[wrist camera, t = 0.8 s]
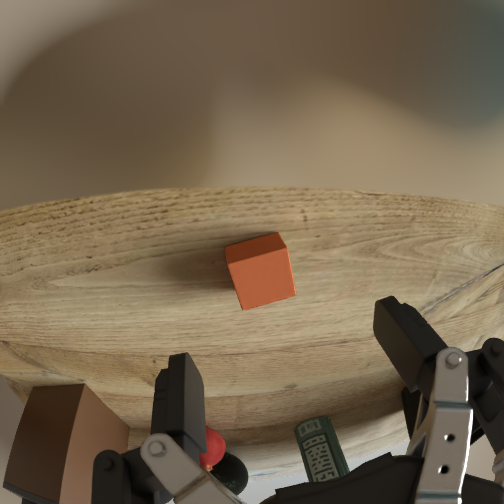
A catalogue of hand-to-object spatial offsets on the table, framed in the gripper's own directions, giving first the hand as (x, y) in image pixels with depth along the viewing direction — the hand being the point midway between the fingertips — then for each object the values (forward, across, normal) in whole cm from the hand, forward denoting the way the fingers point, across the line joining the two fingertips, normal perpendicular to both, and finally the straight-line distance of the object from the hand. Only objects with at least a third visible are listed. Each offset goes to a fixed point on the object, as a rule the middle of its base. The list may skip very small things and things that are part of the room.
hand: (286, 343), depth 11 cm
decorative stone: (+14, +15, +41) cm, 46 cm away
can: (+14, -3, +38) cm, 40 cm away
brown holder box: (+13, +31, +21) cm, 40 cm away
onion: (+14, +13, +29) cm, 35 cm away
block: (+13, 0, +4) cm, 14 cm away
